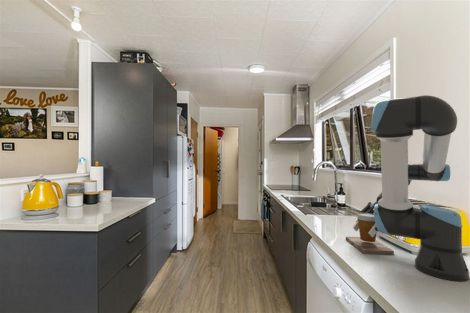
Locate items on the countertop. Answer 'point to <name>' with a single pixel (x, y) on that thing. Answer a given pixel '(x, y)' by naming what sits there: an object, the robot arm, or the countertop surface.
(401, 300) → the countertop surface
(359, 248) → the walnut board
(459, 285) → the countertop surface
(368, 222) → the disposable coffee cup
